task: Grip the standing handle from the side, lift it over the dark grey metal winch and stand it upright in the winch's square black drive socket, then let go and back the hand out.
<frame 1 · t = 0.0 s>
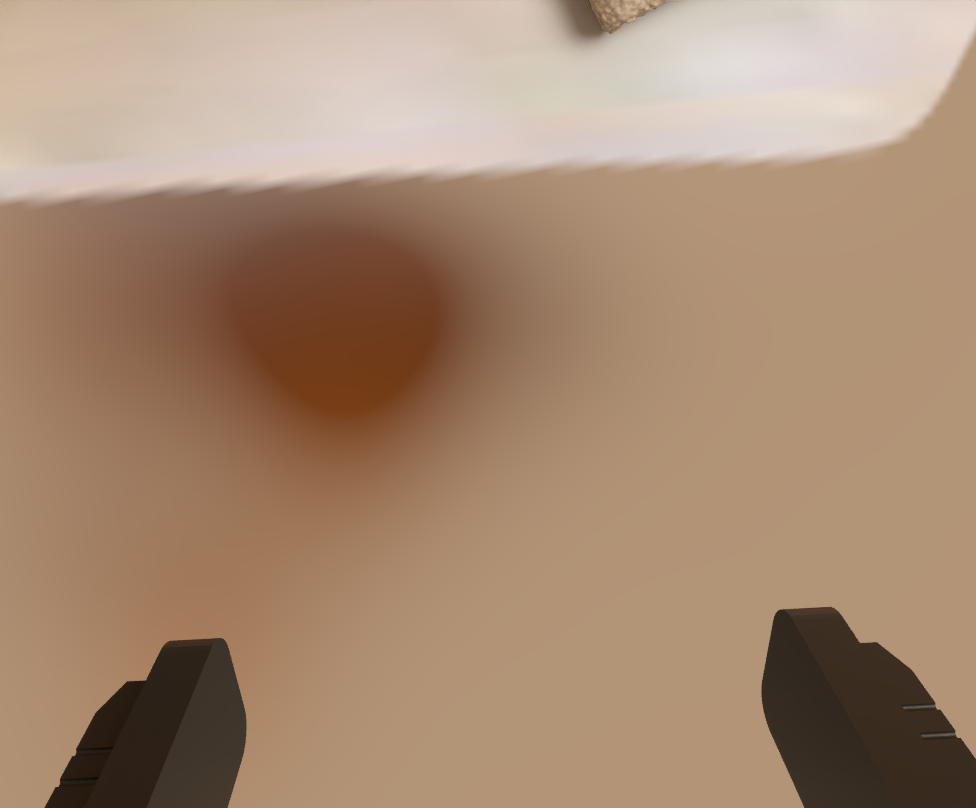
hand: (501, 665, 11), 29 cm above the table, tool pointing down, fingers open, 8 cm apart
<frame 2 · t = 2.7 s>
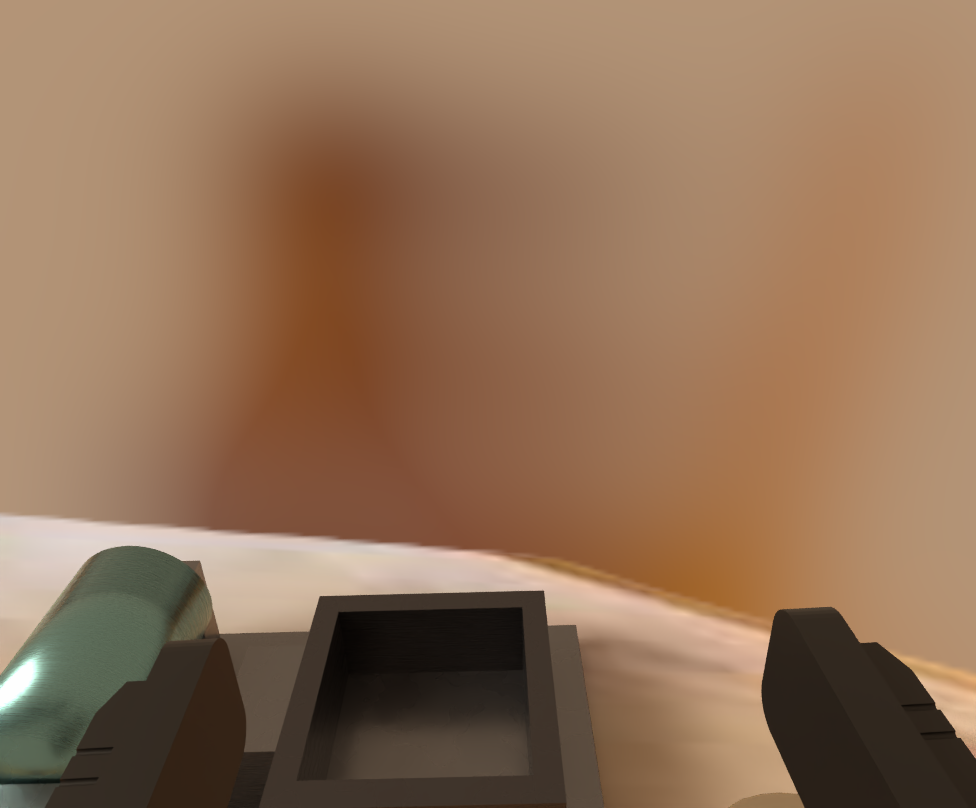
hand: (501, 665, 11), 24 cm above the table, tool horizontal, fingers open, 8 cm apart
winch: (431, 769, 36), on the table
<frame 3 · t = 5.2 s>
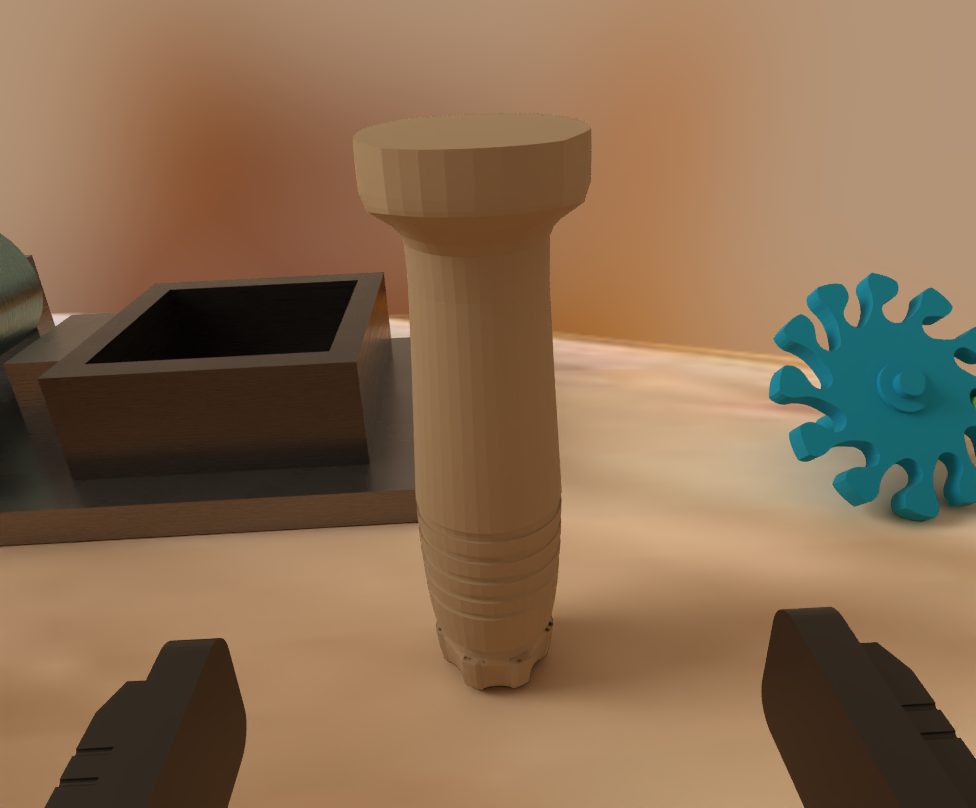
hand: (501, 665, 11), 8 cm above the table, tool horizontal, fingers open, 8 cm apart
handle: (496, 659, 22), on the table
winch: (263, 433, 35), on the table
teal lobed piece: (885, 477, 30), on the table
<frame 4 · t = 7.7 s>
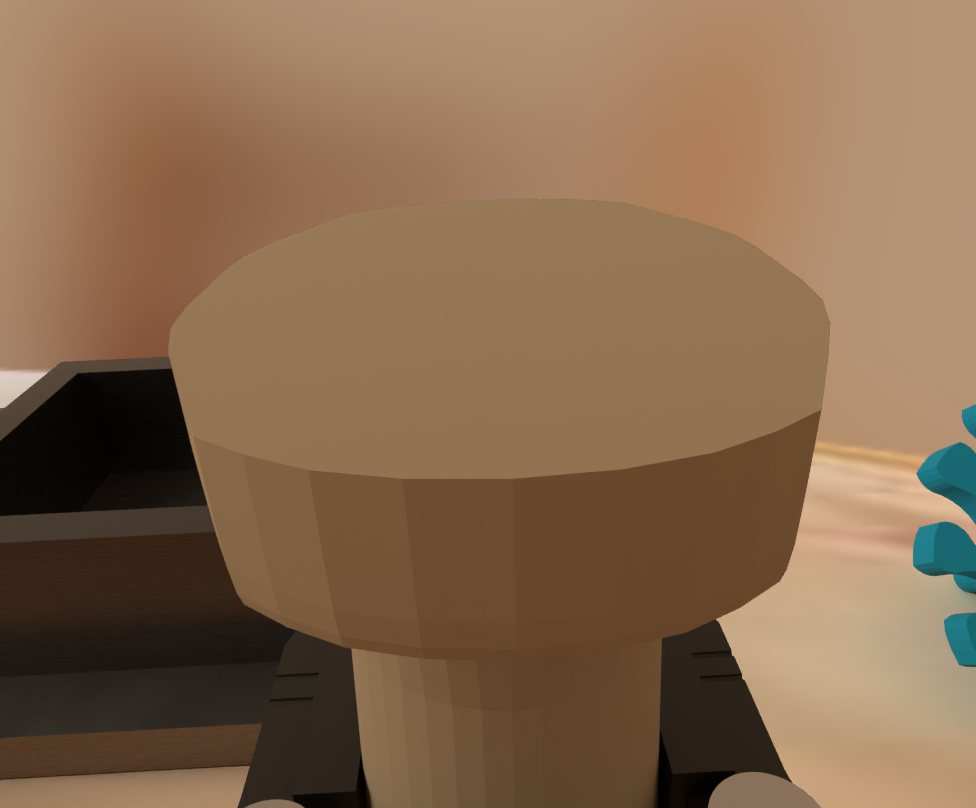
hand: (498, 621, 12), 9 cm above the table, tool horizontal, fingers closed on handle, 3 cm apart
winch: (197, 572, 26), on the table
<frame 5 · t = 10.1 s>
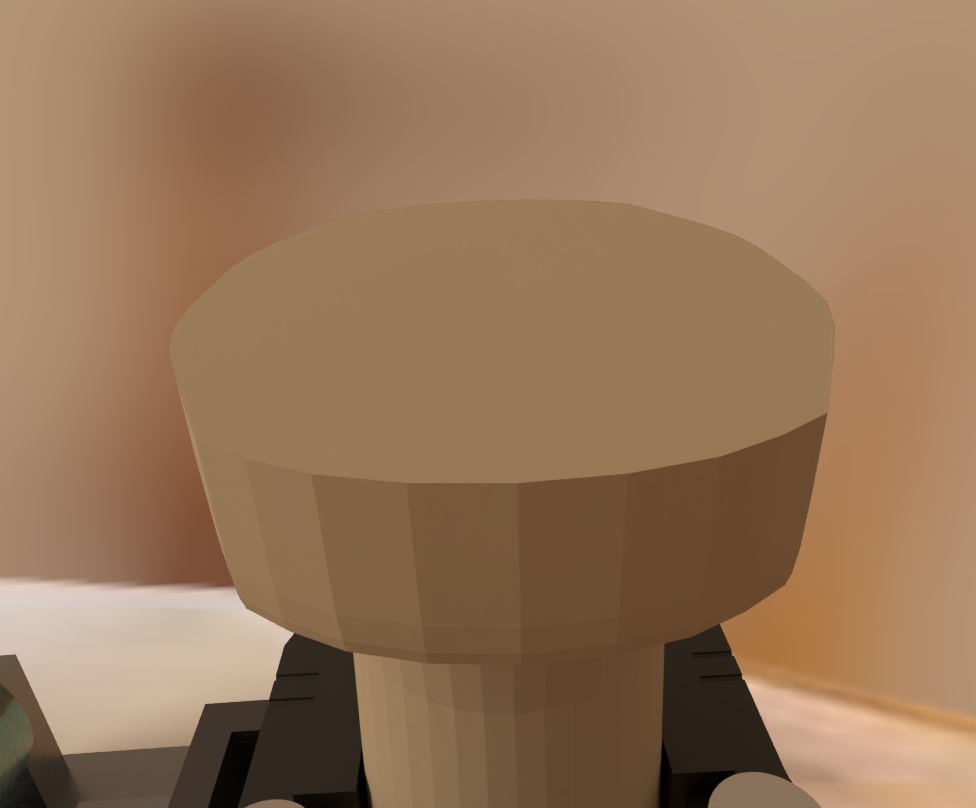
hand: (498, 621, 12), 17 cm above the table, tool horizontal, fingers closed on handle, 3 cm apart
when the fingers open (11 cm above the table, at t = 12.5 s): handle drops 1 cm, resting on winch.
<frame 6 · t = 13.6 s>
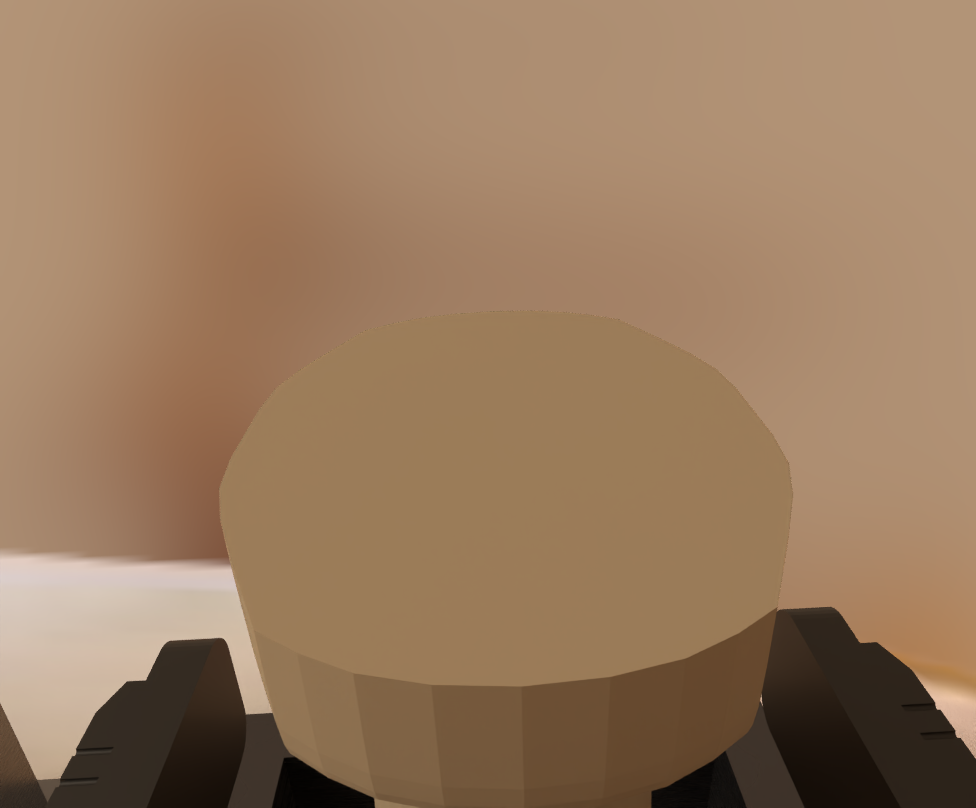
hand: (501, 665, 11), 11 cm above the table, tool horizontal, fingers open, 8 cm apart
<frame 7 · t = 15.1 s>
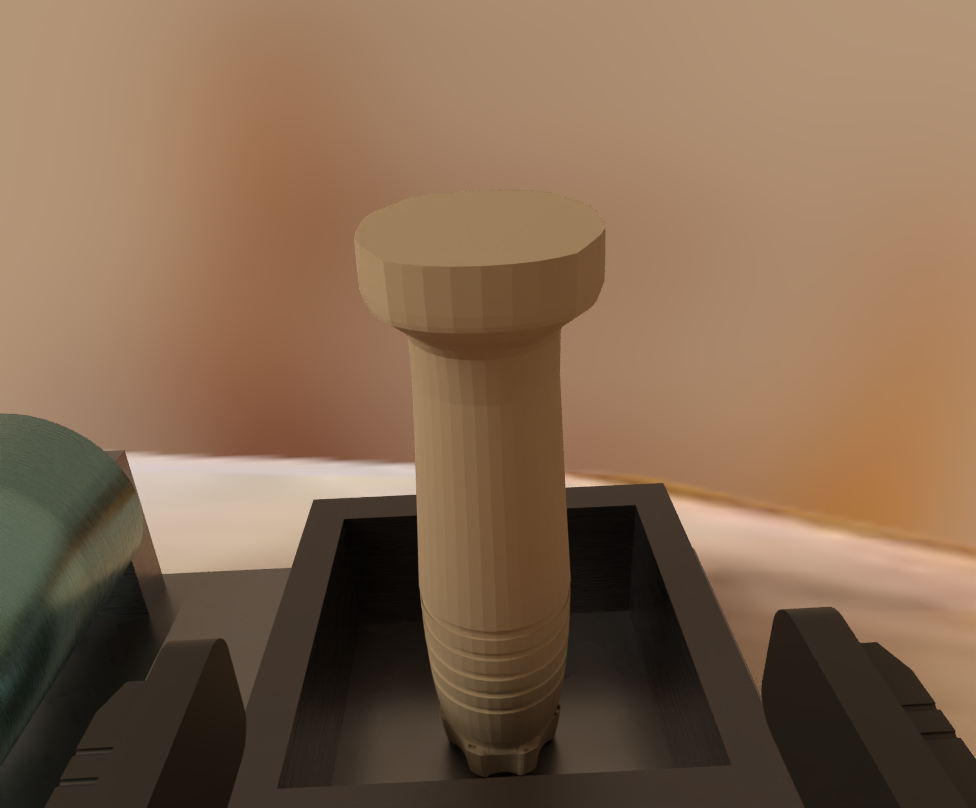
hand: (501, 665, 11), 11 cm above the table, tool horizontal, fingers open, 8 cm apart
handle: (501, 740, 21), point 1 cm above the table, touching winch
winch: (502, 765, 22), on the table
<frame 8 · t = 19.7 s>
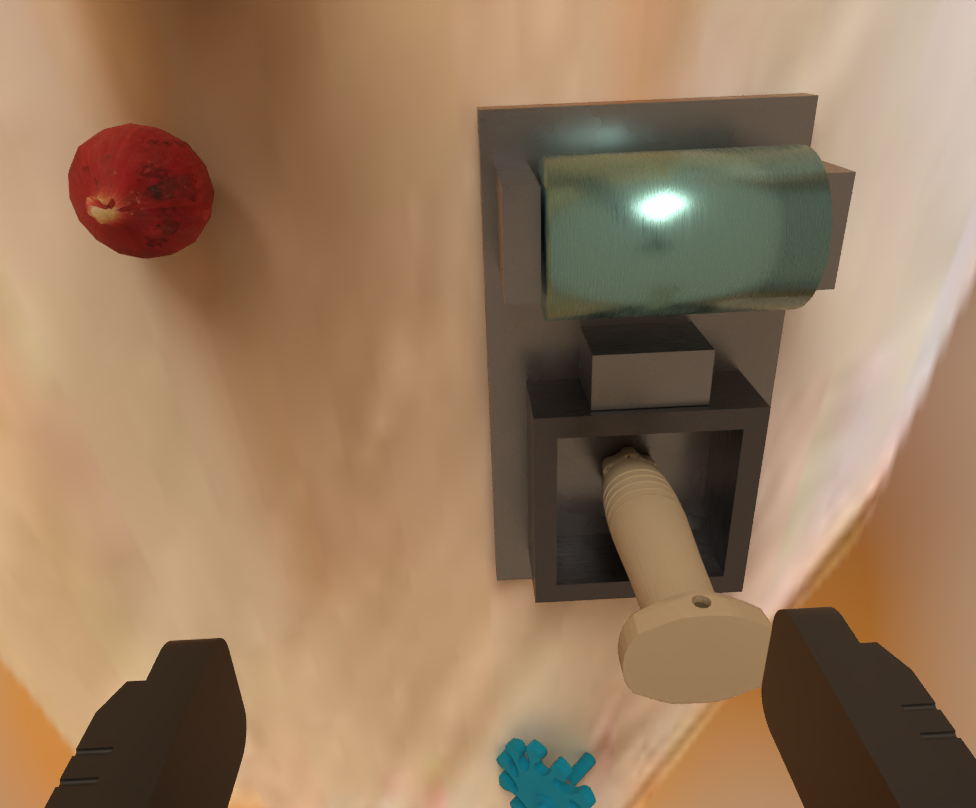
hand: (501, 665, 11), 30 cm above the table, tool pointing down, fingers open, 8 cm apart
handle: (624, 465, 43), point 1 cm above the table, touching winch
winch: (622, 454, 44), on the table
onion: (173, 177, 36), on the table
teal lobed piece: (544, 758, 57), on the table
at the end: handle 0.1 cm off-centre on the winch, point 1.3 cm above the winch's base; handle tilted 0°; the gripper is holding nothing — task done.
